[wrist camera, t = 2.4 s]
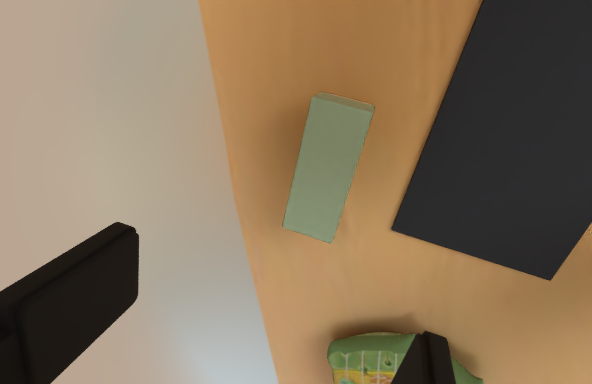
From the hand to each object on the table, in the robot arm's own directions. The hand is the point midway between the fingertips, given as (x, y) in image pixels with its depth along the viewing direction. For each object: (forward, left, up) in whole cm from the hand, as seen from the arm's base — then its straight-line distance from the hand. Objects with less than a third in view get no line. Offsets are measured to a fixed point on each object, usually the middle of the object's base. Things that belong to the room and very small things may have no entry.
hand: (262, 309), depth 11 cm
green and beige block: (0, 0, -19) cm, 19 cm away
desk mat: (-5, +13, -19) cm, 23 cm away
